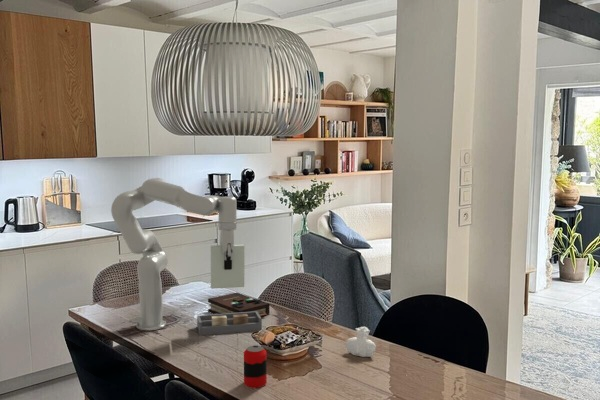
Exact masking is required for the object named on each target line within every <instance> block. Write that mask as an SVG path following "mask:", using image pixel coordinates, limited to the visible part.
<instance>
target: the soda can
mask: <svg viewBox="0 0 600 400" xmlns="http://www.w3.org/2000/svg"><path fill="white" fill-rule="evenodd" d="M267 359H268V356H267V350H266V349H265V348H264V347H263V346H262V345H250V346H247V347H246V348H245V350H244V352H243V384H244V386H246V387H248V388H250V387H251V388H252V389H257V388H262V387H264V386H266V384H267V383H268V382H267V381H268V377H267V376H268V375H267V373H268V371H267V369H268V368H267V365H268V364H267ZM251 388H250V389H251Z"/></svg>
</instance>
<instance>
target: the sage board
mask: <svg viewBox="0 0 600 400" xmlns="http://www.w3.org/2000/svg"><path fill="white" fill-rule="evenodd" d="M232 251H233V250H232ZM226 253H228V252H226ZM226 256H227V255H226ZM224 260H225V253H224V254H223V253H222V252H221V245H220V244H219V245H218V244H216V245H210V289H212V290H213V289H231V288H244V287H245V244H243V243H242V244H234V252H233V253H232V269H231V270H225V269H224Z"/></svg>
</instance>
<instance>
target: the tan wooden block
mask: <svg viewBox="0 0 600 400" xmlns="http://www.w3.org/2000/svg"><path fill="white" fill-rule="evenodd" d="M245 323H248V315H247V314H239V315H233V324H245Z"/></svg>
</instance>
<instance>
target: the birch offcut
mask: <svg viewBox="0 0 600 400" xmlns="http://www.w3.org/2000/svg"><path fill="white" fill-rule="evenodd" d="M220 325H227V317H226V316H212V326H220Z"/></svg>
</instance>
